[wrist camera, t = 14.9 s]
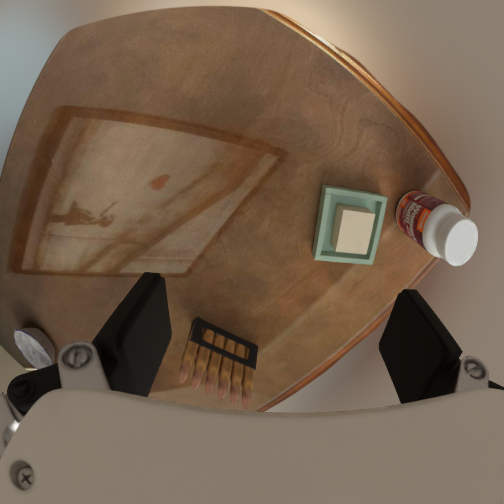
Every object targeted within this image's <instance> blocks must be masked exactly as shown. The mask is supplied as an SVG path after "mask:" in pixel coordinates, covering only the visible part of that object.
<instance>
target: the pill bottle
mask: <svg viewBox="0 0 504 504" xmlns="http://www.w3.org/2000/svg"><path fill="white" fill-rule="evenodd" d="M396 221H397V224H398V226H399V228H400V229H401V230H402V231H403V232H404V233H405V234H407V235H408V236H409V237H410V238H411V239H413V240H414V241H415V242H417V243H418V244H419V245H420V246H422V247H423V248H424V249H425V250H426V251H427V252H429V253H430V254H432V255H433V256H435V257H439V258H443V259H444V260H446V261H447V262H448V263H450V264H451V265H453V266H459V265H462V264H464V263H465V262H467V261H468V260H469V259H470V257H471V256H472V255H473V253H474V251H475V249H476V246H477V241H478V231H477V228H476V225H475V224H474V223H473V221H471V220H470V219H468V218H466V217H464V216H463V215H462V213H461V212H460V211H459V210H458V209H457V208H456V207H454V206H453V205H451V204H448V203H446V202H444V201H442V200H440V199H437V198H435V197H433V196H431V195H428V194H426V193H423V192H420V191H411V192H409V193H407V194H405V195H404V196H403V197H402V198H401V200H400V201H399V203H398V206H397V209H396Z"/></svg>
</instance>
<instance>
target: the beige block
mask: <svg viewBox="0 0 504 504" xmlns="http://www.w3.org/2000/svg"><path fill="white" fill-rule="evenodd" d="M374 219H375V214H374V213H373V212H372V211H370V210H369V209H368V208H365V207H358V206H352V205H345V204H337V205H336V211H335V217H334V223H333V228H332V234H331V239H330V243H331V245H332V246H333V248H334V250H335V251H336V252H346V253H356V254H367V250H368V246H369V242H370V237H371V233H372V228H373V223H374Z"/></svg>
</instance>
